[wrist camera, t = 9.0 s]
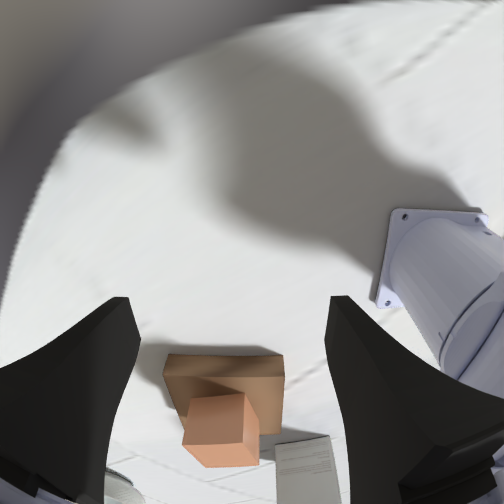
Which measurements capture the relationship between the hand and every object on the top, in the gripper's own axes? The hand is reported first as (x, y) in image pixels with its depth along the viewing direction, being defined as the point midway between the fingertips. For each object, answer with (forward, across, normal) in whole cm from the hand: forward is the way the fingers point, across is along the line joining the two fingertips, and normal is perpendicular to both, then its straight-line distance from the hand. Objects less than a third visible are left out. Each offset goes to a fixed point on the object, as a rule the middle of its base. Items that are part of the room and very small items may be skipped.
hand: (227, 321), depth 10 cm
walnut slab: (+10, +2, +17) cm, 20 cm away
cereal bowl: (+10, +31, +56) cm, 65 cm away
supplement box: (+10, -7, +32) cm, 34 cm away
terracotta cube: (+8, +2, +17) cm, 19 cm away
